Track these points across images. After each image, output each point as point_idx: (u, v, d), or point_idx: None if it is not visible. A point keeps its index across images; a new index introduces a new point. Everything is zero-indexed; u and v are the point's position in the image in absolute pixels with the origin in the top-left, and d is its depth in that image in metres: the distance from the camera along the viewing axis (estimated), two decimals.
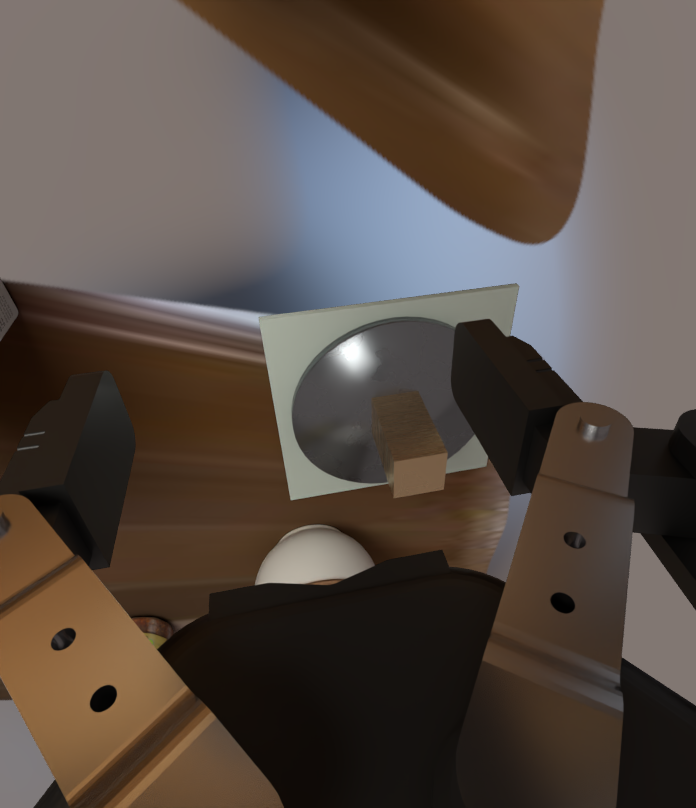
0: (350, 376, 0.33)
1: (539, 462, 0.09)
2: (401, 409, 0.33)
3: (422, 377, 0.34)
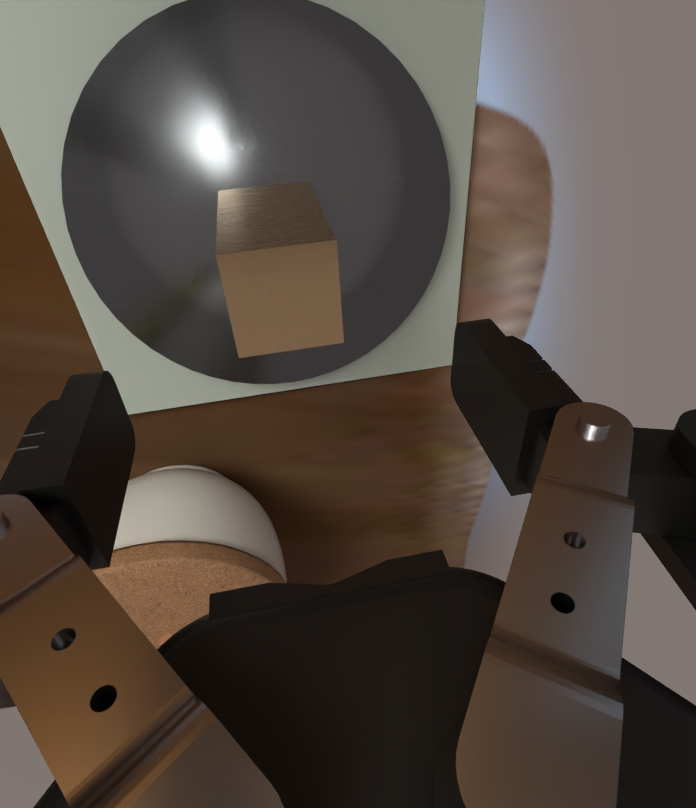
0: (164, 130, 0.17)
1: (539, 462, 0.09)
2: (267, 198, 0.17)
3: (312, 147, 0.18)
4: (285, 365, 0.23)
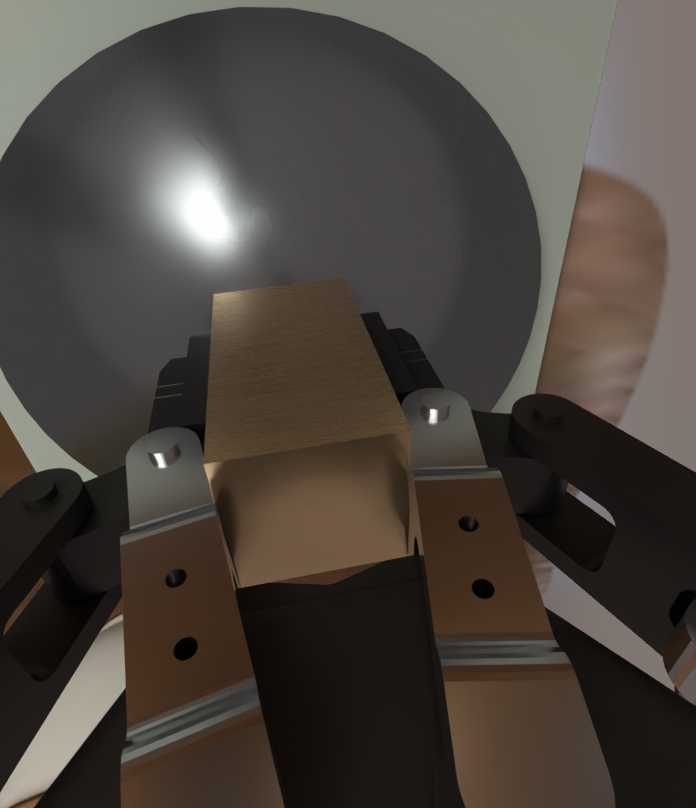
0: (131, 214, 0.11)
1: None
2: (287, 315, 0.11)
3: (352, 233, 0.12)
4: None
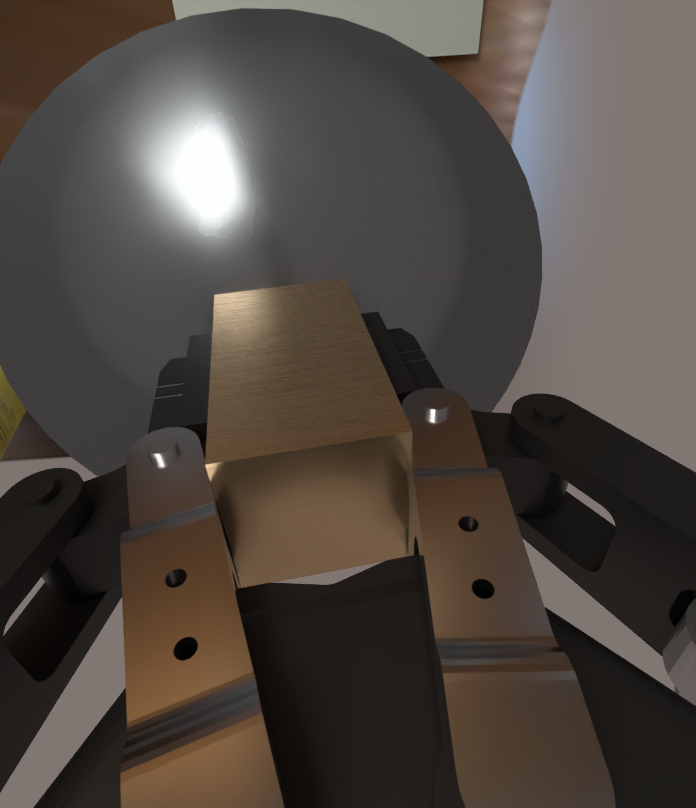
0: (132, 216, 0.11)
1: None
2: (287, 316, 0.11)
3: (353, 234, 0.12)
4: None
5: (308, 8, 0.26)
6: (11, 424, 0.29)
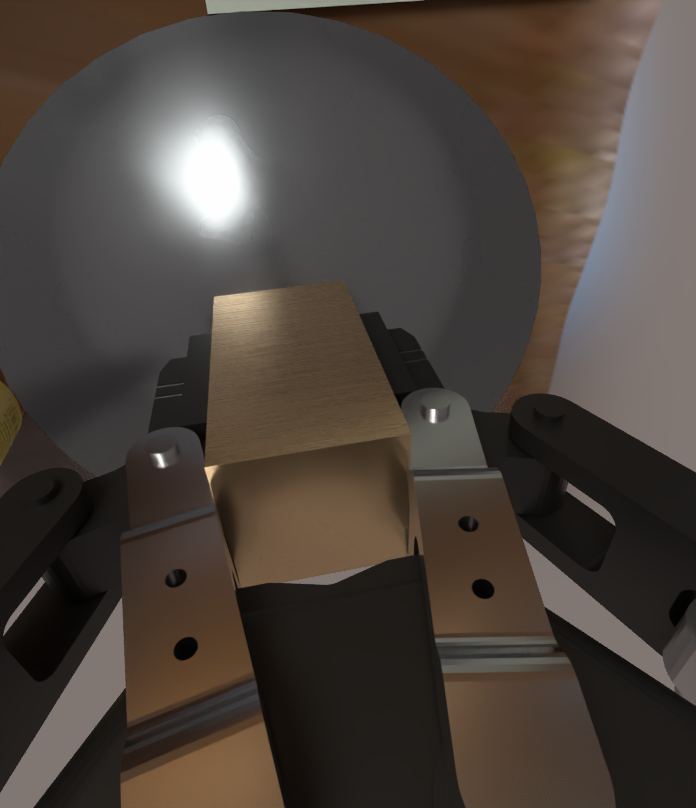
0: (132, 218, 0.11)
1: None
2: (286, 318, 0.11)
3: (352, 236, 0.12)
4: None
5: None
6: None
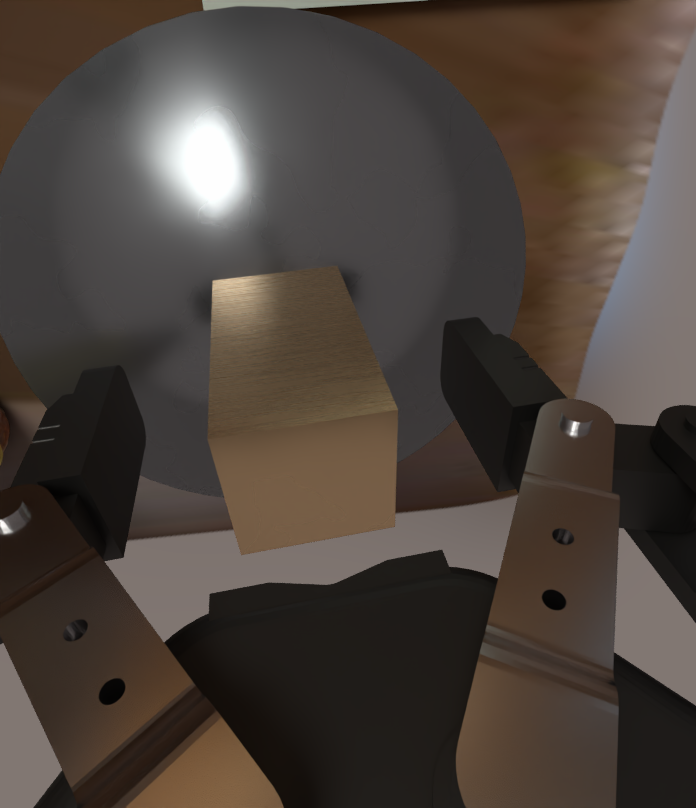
0: (134, 204, 0.12)
1: (523, 458, 0.09)
2: (282, 302, 0.12)
3: (345, 223, 0.13)
4: None
5: None
6: None
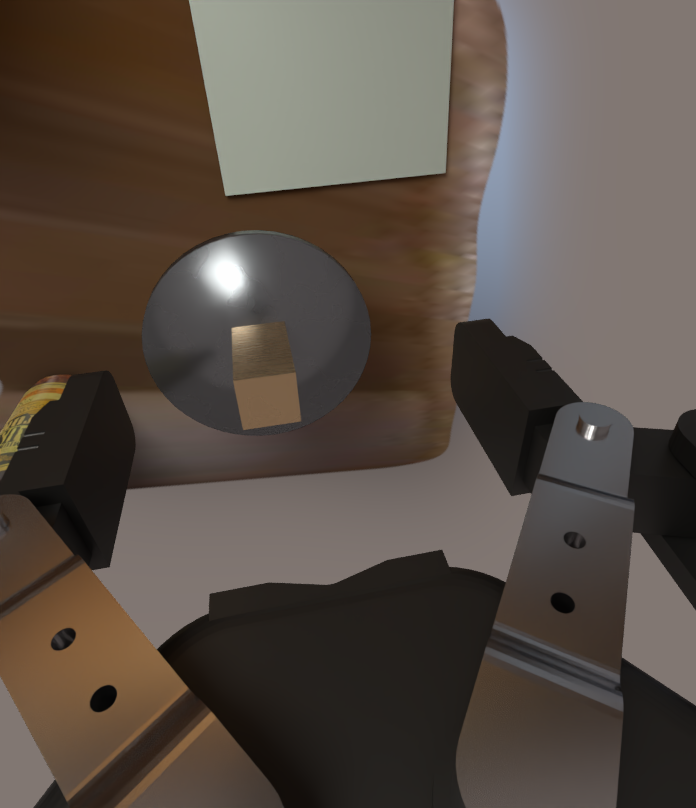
0: (202, 299, 0.29)
1: (539, 462, 0.09)
2: (260, 336, 0.30)
3: (286, 304, 0.31)
4: None
5: (316, 149, 0.35)
6: None
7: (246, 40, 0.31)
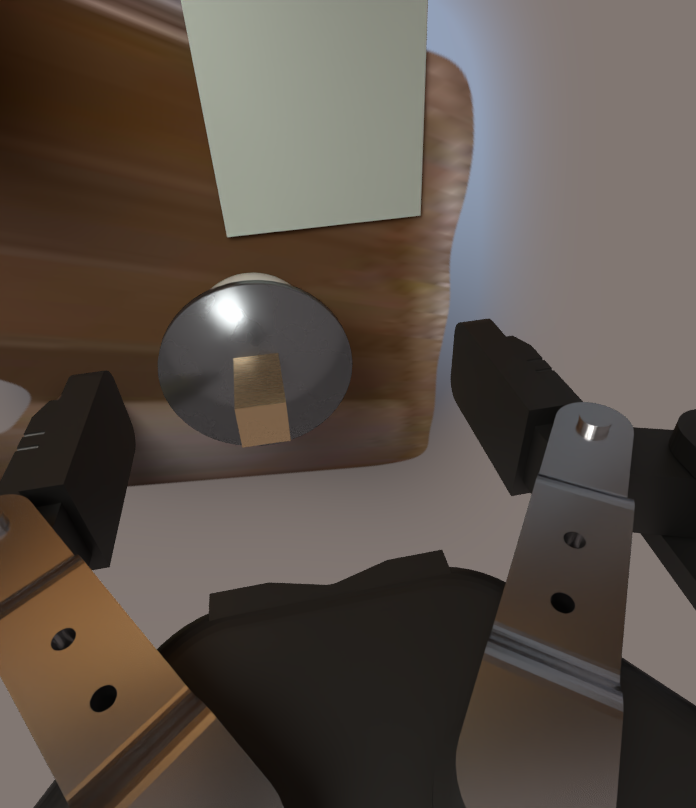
0: (209, 335, 0.35)
1: (539, 462, 0.09)
2: (257, 367, 0.35)
3: (280, 339, 0.36)
4: None
5: (306, 197, 0.40)
6: None
7: (245, 109, 0.36)
